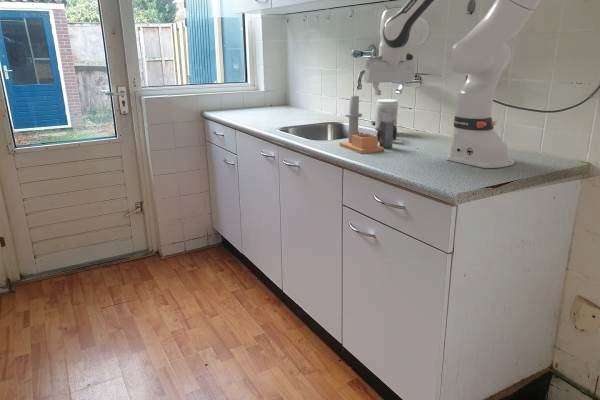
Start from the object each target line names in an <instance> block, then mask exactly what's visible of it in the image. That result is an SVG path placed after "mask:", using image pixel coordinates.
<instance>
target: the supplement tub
mask: <svg viewBox="0 0 600 400" xmlns="http://www.w3.org/2000/svg"><path fill="white" fill-rule="evenodd" d="M398 101H399V100H397V99H394V98H390V99H389V98H386V99H385V98H384V99H383V98H381V99H380V98H379V99H377V100H376V102H375V104H376V105H375V122H374V124H375V125H374V132H375V133H376V134H377V132H378V130H376V129H377V128H378V127H379V125H380V122H381V121H391V122H393V125H394V126H396V127H397V126H398V125H397V124H398V123H397V122H398V110H399V109H398V106H399V103H398Z"/></svg>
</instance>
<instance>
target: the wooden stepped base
mask: <svg viewBox="0 0 600 400" xmlns="http://www.w3.org/2000/svg"><path fill="white" fill-rule="evenodd" d="M359 103H360V96H359V95H349V108H348V113H347V112H346V113H345V117H347V118H348V141H343V142H342V141H341V142H339V146H340V147H342V148H344V149H345V148H346V150H347V149H348V150H351V151H353V152H355V151H356V152H355V153H358V154H361V153H362V154H369V153H370V154H371V153H377V152H384V151H385V149H384V148H383V147H380V146H379V145H378V142H379V141H378V136H376V135H374V134H370V133H360V134H359V118H361V117H363V113H360V112H359V111H360V110H359V109H360V107H359V106H360V105H359Z"/></svg>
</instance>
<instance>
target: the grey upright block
mask: <svg viewBox="0 0 600 400" xmlns="http://www.w3.org/2000/svg"><path fill="white" fill-rule="evenodd" d="M393 141H394V139H393V122H391V121H381V122H380V141H379V145H378V146H380V147H383V148H384V150H387V149H392V148H393Z"/></svg>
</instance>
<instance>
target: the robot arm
mask: <svg viewBox="0 0 600 400" xmlns="http://www.w3.org/2000/svg"><path fill="white" fill-rule="evenodd" d="M439 1H440V0H408V1H407V2H406V3H405V4H404V5H403V6H395V7H394V6H393V7H389V8H387V9H385V10H384V11H383V13H382V14H381V15H382V16H381V19H380V26H379V27H380V28H379V37H380V43H379V46H378V55H376V56H374V55H372V56H369V57H368V58H367V59H366V60H365V69H364V76H363V77H364V78H363V79H364V82H365V83H368V84H372V87H373V88H374V95H375V96H381V95H382V93H381V92H382V90H380V89H379V86H380V83H398V85H399V86H398V88H396V89H395V94H397V95H401V94H403V89H404V87H405V86H406V82H412V81H414V79H415V75H416V64H415V62H414V61H415V60H416V55H415V54H414V53H410V52H408V51H406V50H405V48H408V47H419V46H422V45H424V44H425V43H426V42H427V41H428V39H429V37H430V35H431V26H430V23H429V21H428V20H427V19H426V18H424V17H422V16H423V15H424V14H425V13H426V12H427V11H428V10H429V8H431V7H432V6H433V5H434V4H436V3H438V2H439ZM541 1H542V0H495V1H494V2H493V3H492V6H491V7H490V9H489V10H488V11H487V12H486V13H485V15H484V16H483V18H482V19H481V20H480V21H479V22H478V23H477V24H476V26H474V27H473V29H472V30H470V31H469V32H468V34H467V35H465V37H463V38H462V39H461V40H459V41H457V42H456V43H454V44H453V45H452V46H451V47H450V49H449V50H448V51H447V52H448V53H447V56H446V61H447V65H448V67H449V69H450V70H451V71H453V72H454V73H456V74H460V75H463V76H467V79H466V81H465V83H464V85H463V87H461V89H460V90H459V92H458V94H457V102H456V103H457V104H456V113H455V116H454V117H453V118H454V120H453V127H454V129H453V132H452V137H451V140H450V146H449V149H448V153H447V155H446V160H447V161H450V162H454V163H458V164H459V163H461V164H465V165H470V166H474V167H478V168H482V169H494V168H495V169H498V168H504V167H505V168H506V167H509V166H512V165H514V164H515V160H514V159H511V158H510V157H509V158H508V156H509V155H508V151H509V149H508V145H507V143H506V142H505V141H504V140H503V139H502V138H501V137H500V136H499V134H498V133H497V132H496V130H494V129H495V128H494V126H496V125H497V122H498V121H497V120H494V121H493V119H492V116H491V115H492V108H493V104H494V103H493V101H494V96H495V92H496V88H497V85H498V82H499V81H500V77H501V75H502V73H503V71H504V70H505V68H506V67H507V66H508V65H509V63H510V61H511V58H512V51H511V48H510V46H509V44H507V41H509V40H510V39H511V38H513V37H515V36H516V35H517V34H518V33H519V32H520V31H521V30H522V28H523V27H524V25H525V24H526V22H527V21H528V19H530V17H531V15H532V14H533V12H534V11H535V10H536V9H537V7H538V6H539V4H540V3H541Z"/></svg>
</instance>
